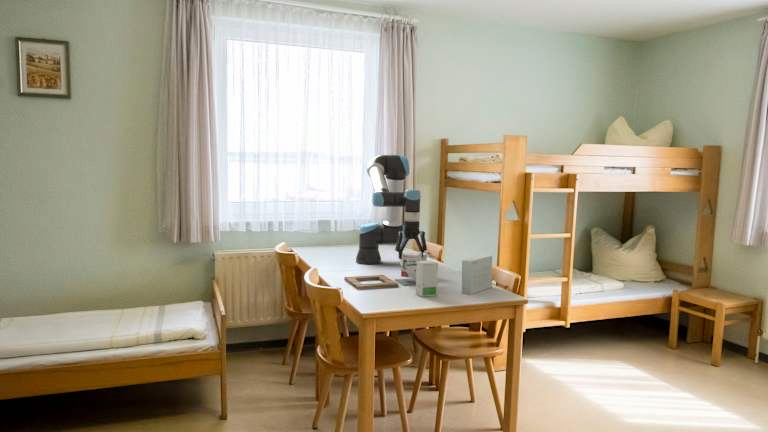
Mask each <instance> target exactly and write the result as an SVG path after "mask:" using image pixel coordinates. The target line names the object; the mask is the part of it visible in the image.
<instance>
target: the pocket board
mask: <svg viewBox="0 0 768 432" xmlns="http://www.w3.org/2000/svg"><path fill="white" fill-rule="evenodd" d="M344 281H345V282H347V283H348V284H349V285H350V286H352V287H353V288H355V289H356V290H359V291H360V290H370V289H371V290H372V289H386V288H387V289H388V288H399V283H398V282H397V281H395V280H392V279H391V278H389V277H387V276H386V275H385V274H375V275H373V274H371V275H359V276H358V275H355V276H345V277H344ZM362 281H379V282H376V283H375V282H374V283H362Z"/></svg>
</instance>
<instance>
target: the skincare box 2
mask: <svg viewBox="0 0 768 432" xmlns="http://www.w3.org/2000/svg"><path fill="white" fill-rule="evenodd" d="M490 288H493V255H489V254H482V255H477V256H472V257H470V258H466V259H465V258H464V259H463V260H462V261H461V294H466V295H471V296H472V295H474V294H476V293H479V292H482V291H485V290H487V289H490Z"/></svg>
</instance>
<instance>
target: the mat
mask: <svg viewBox="0 0 768 432" xmlns="http://www.w3.org/2000/svg"><path fill="white" fill-rule="evenodd" d="M394 282H396V283H398V284H400V285H402V286H403V287H406V286H416V278H410V277H406V278H396V279H395V278H394Z"/></svg>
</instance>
